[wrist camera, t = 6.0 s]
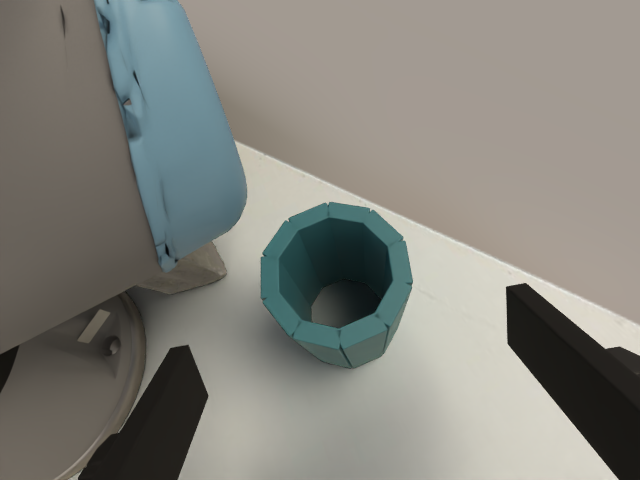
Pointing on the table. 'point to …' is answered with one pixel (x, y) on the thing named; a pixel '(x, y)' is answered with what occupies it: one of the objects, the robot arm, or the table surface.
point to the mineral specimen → (189, 272)
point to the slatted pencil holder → (336, 279)
